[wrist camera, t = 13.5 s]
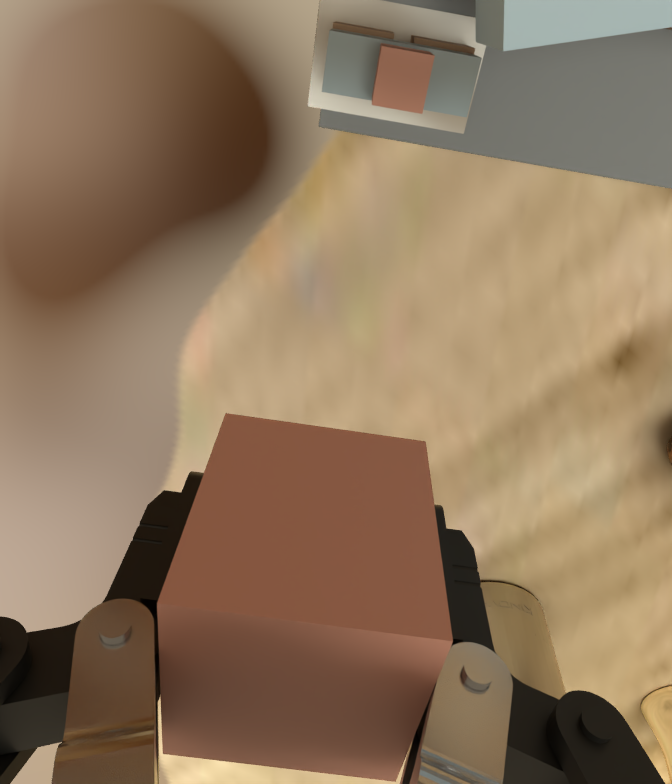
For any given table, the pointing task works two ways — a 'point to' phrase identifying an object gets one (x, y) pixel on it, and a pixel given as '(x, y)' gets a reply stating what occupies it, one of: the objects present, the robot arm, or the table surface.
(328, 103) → the model
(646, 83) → the grey flat sheet
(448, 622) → the terracotta cube
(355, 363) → the table surface
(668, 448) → the block
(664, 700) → the beer glass
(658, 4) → the lintel
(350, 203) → the table surface
